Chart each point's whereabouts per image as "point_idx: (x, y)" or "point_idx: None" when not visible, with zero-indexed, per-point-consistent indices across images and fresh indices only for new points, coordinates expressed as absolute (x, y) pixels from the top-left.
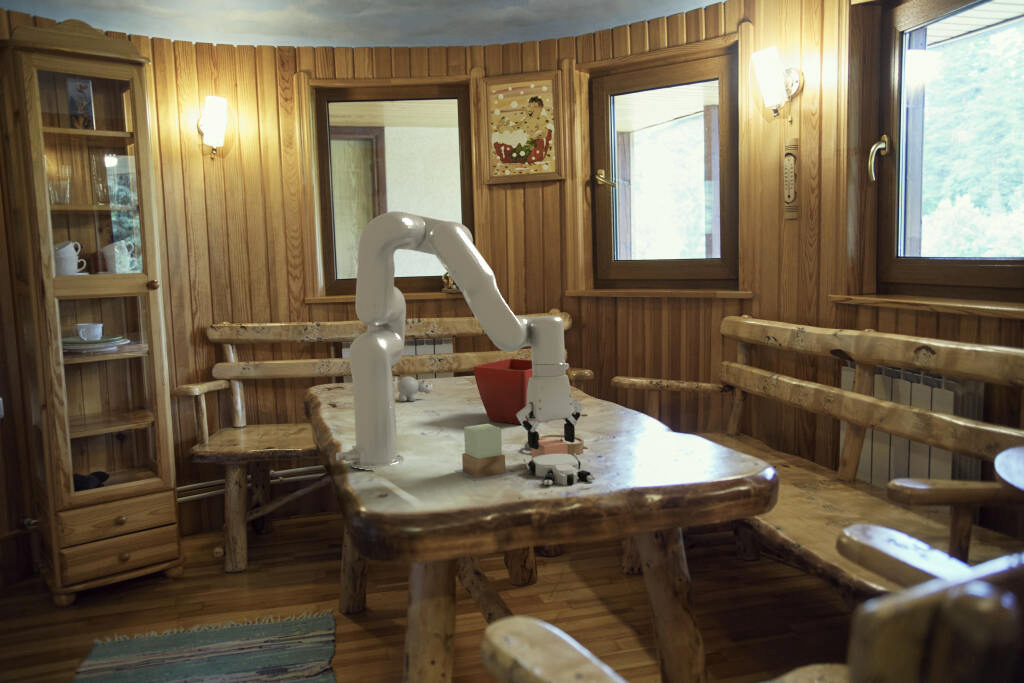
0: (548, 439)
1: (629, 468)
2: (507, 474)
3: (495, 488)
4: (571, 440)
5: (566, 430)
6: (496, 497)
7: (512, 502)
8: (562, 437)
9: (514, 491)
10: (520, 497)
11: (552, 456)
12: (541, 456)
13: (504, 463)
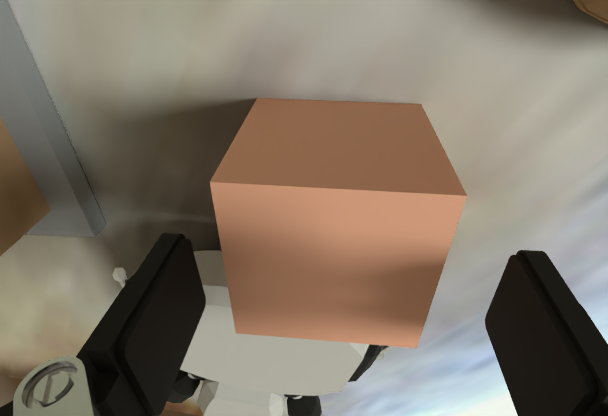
0: (387, 208)
1: None
2: (58, 231)
3: (14, 278)
4: (489, 332)
5: (538, 358)
6: (16, 334)
7: None
8: None
9: (78, 325)
10: None
11: (262, 336)
12: (208, 316)
13: (10, 243)
